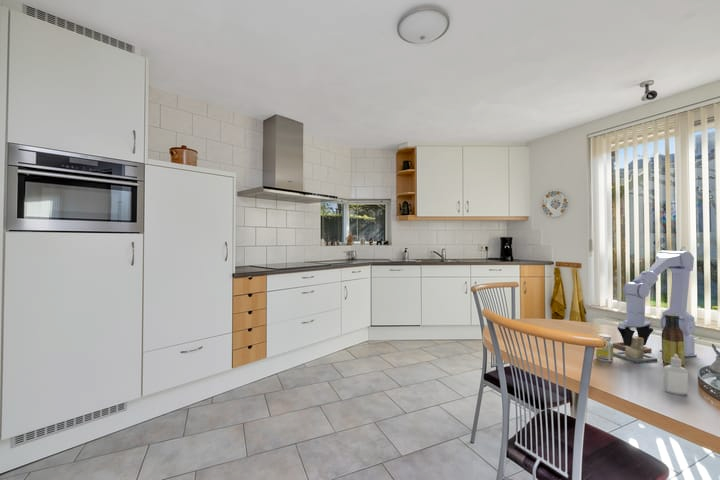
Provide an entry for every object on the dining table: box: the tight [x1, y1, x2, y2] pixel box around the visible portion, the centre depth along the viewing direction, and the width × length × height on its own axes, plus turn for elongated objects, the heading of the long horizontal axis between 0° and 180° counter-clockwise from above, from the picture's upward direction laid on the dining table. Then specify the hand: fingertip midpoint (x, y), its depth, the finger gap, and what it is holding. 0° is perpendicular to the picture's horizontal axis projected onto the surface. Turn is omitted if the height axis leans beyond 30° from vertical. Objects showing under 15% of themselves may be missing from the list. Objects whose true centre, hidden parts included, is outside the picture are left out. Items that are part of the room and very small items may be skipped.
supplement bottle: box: [595, 333, 614, 363], centre depth 130 cm, size 5×5×10 cm
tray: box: [613, 350, 658, 364], centre depth 132 cm, size 11×9×1 cm
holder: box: [612, 341, 653, 354], centre depth 143 cm, size 10×10×2 cm
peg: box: [625, 334, 645, 359], centre depth 132 cm, size 4×4×8 cm
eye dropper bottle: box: [662, 354, 689, 396], centre depth 102 cm, size 4×6×12 cm
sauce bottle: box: [661, 314, 685, 368], centre depth 124 cm, size 7×6×20 cm
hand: (634, 345), depth 132 cm, fingers open, 7 cm apart
